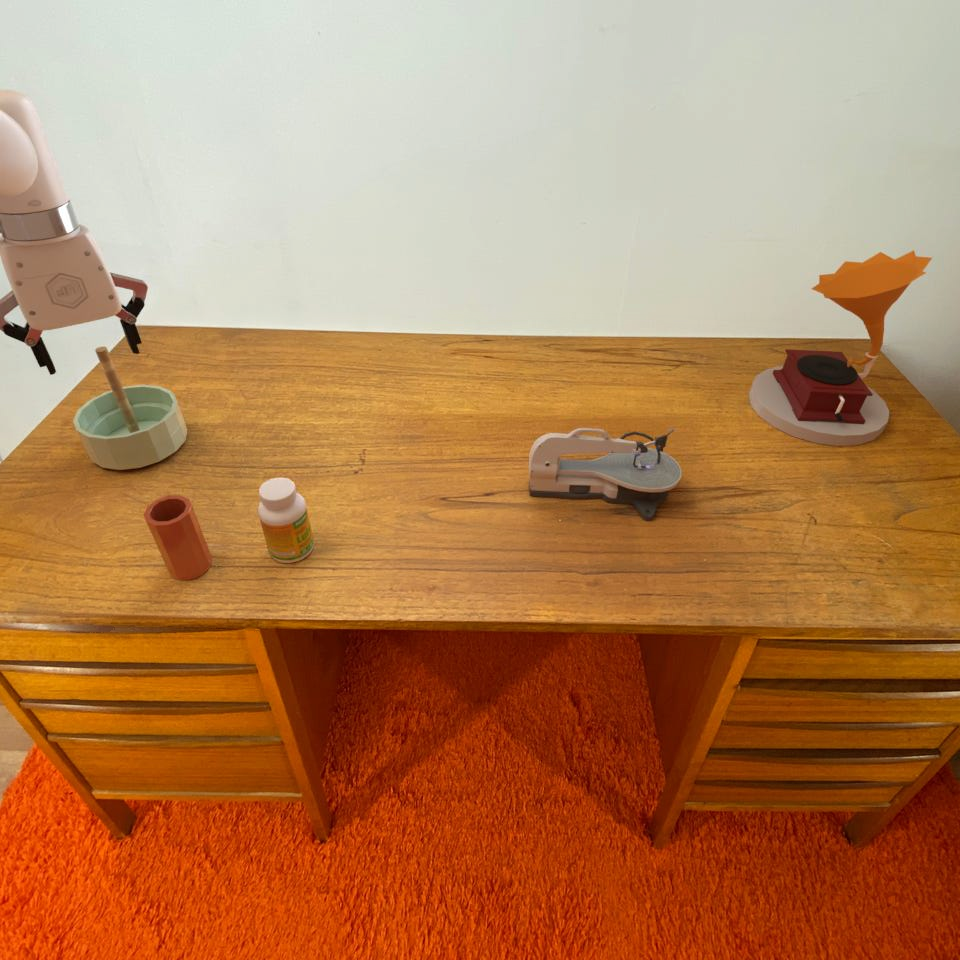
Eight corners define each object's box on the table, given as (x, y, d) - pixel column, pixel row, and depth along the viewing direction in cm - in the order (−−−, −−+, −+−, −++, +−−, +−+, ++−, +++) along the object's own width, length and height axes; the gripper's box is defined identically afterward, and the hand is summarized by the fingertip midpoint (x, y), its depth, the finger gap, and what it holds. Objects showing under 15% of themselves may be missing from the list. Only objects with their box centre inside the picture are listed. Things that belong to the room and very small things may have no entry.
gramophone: (855, 378, 111) (922, 232, 94) (907, 450, 95) (998, 290, 79) (735, 372, 112) (781, 226, 95) (767, 442, 96) (828, 282, 80)
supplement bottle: (307, 565, 76) (293, 505, 70) (263, 563, 76) (245, 503, 70) (319, 533, 80) (307, 474, 74) (277, 531, 80) (261, 471, 74)
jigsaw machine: (534, 453, 76) (531, 400, 85) (528, 517, 83) (526, 462, 91) (703, 458, 76) (682, 404, 84) (683, 521, 83) (666, 466, 91)
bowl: (100, 485, 86) (82, 449, 82) (82, 436, 95) (66, 402, 91) (199, 452, 92) (187, 417, 88) (174, 409, 100) (163, 375, 96)
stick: (135, 445, 92) (96, 352, 82) (132, 440, 93) (94, 348, 83) (145, 441, 93) (107, 349, 83) (142, 437, 94) (105, 345, 84)
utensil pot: (175, 586, 73) (150, 531, 67) (164, 560, 76) (139, 505, 70) (217, 569, 75) (196, 513, 69) (205, 544, 78) (184, 489, 72)
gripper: (-55, 245, 64) (20, 392, 75) (129, 217, 72) (172, 354, 83) (-58, 225, 69) (13, 365, 80) (115, 200, 77) (158, 331, 88)
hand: (94, 359), depth 81 cm, fingers open, 9 cm apart
